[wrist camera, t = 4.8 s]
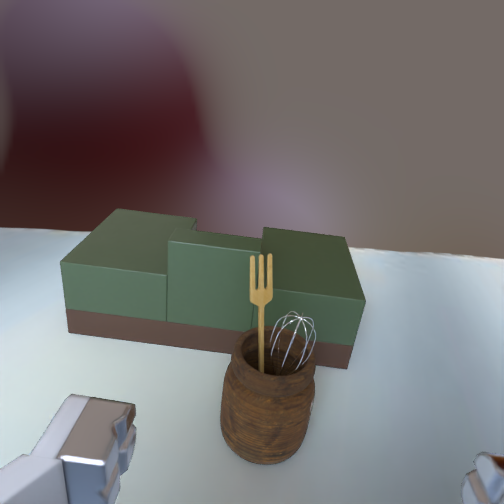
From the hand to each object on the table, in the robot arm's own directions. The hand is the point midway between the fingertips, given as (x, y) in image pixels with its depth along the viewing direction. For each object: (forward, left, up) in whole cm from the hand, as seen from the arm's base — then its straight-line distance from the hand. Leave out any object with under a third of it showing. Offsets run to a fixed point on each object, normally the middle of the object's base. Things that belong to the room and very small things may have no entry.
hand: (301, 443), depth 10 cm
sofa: (+5, -26, -15) cm, 30 cm away
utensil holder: (0, -13, -15) cm, 20 cm away
